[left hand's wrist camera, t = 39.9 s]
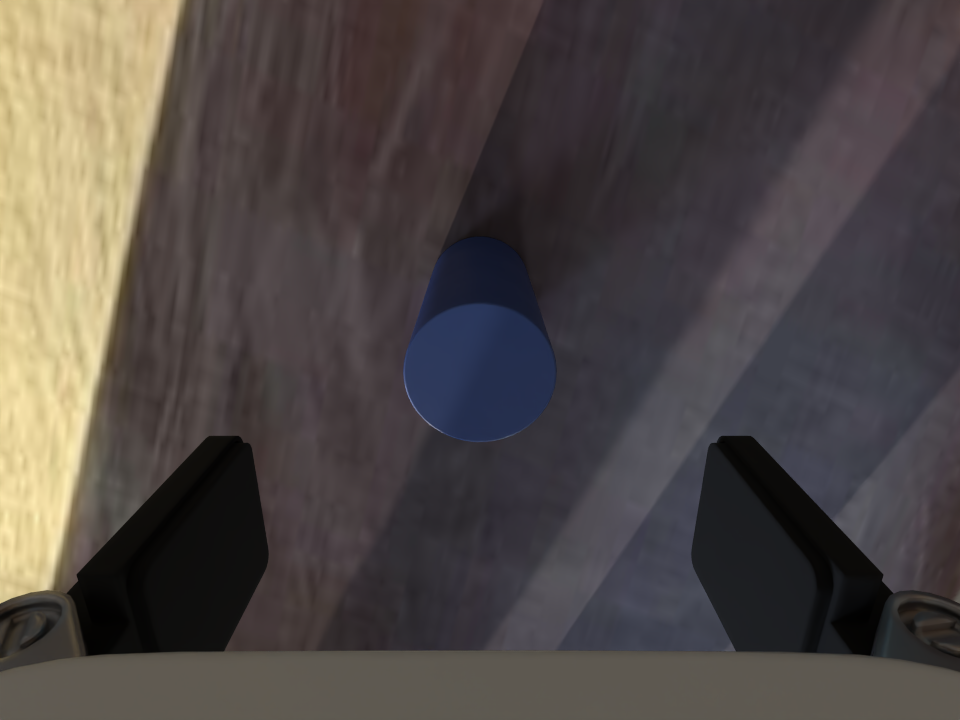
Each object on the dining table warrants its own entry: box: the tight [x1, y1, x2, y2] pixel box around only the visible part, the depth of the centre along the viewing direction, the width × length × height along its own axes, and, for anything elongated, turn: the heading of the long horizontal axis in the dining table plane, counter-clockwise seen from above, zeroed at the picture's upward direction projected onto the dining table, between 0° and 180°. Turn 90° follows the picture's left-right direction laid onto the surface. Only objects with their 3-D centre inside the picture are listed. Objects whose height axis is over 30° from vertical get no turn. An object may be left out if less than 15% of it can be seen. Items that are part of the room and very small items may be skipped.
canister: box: [403, 237, 557, 442], centre depth 21 cm, size 4×4×10 cm
